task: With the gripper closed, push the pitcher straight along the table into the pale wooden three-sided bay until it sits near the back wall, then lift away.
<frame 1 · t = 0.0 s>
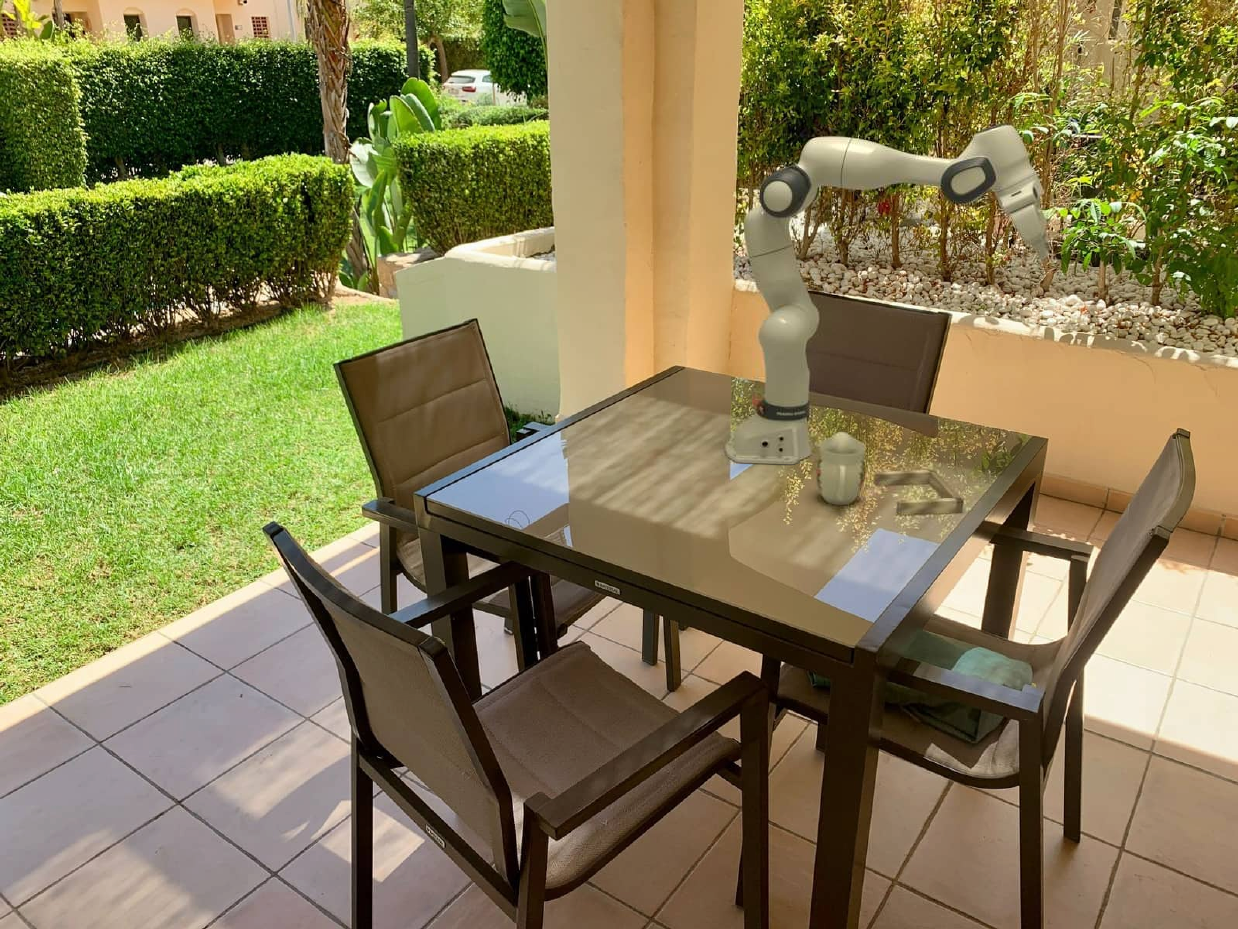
hand: (1045, 254, 201), 54 cm above the table, fingers open, 8 cm apart
pitcher: (838, 501, 215), on the table
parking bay: (915, 497, 216), on the table
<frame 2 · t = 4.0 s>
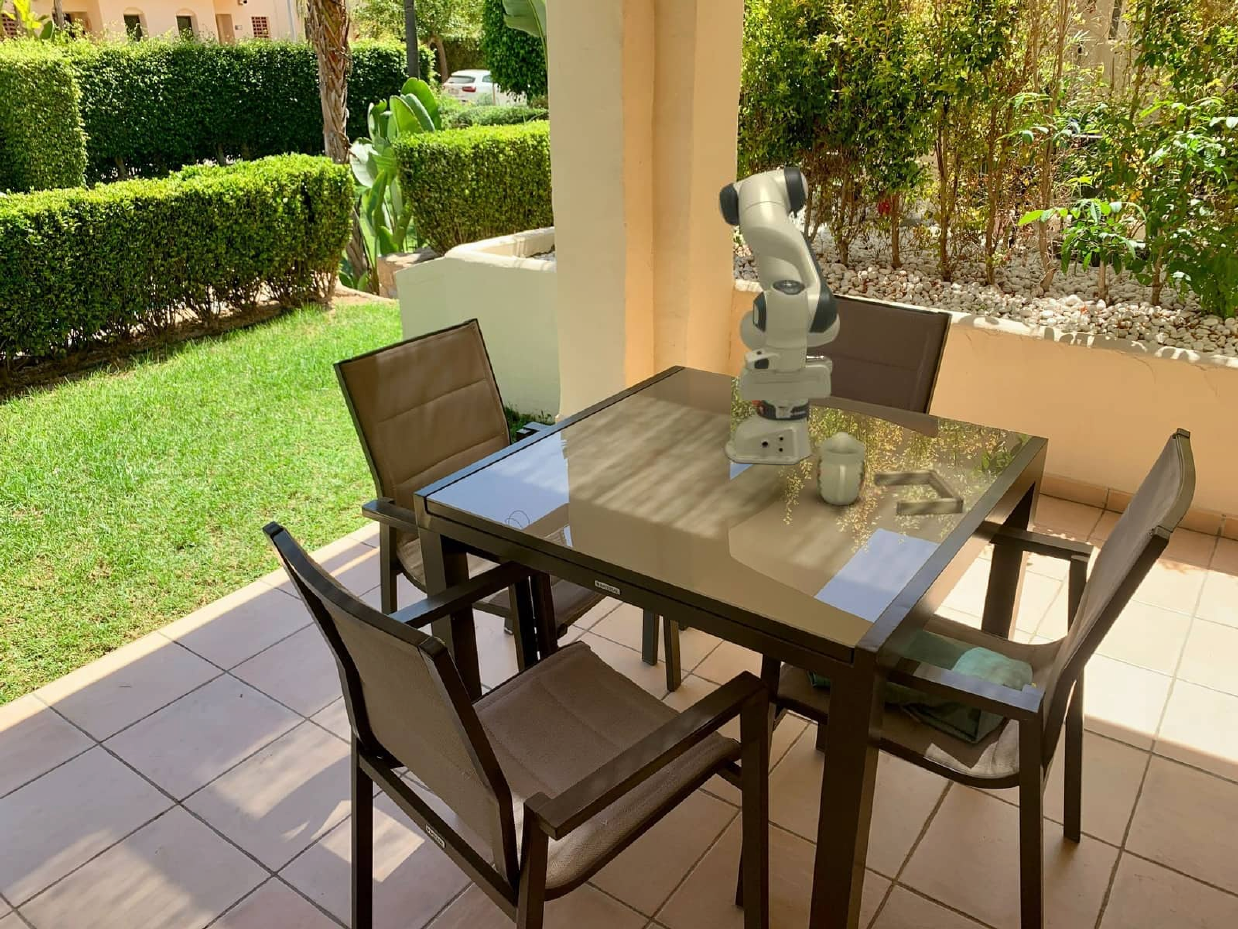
hand: (782, 417, 207), 21 cm above the table, fingers closed
nothing on the table moved.
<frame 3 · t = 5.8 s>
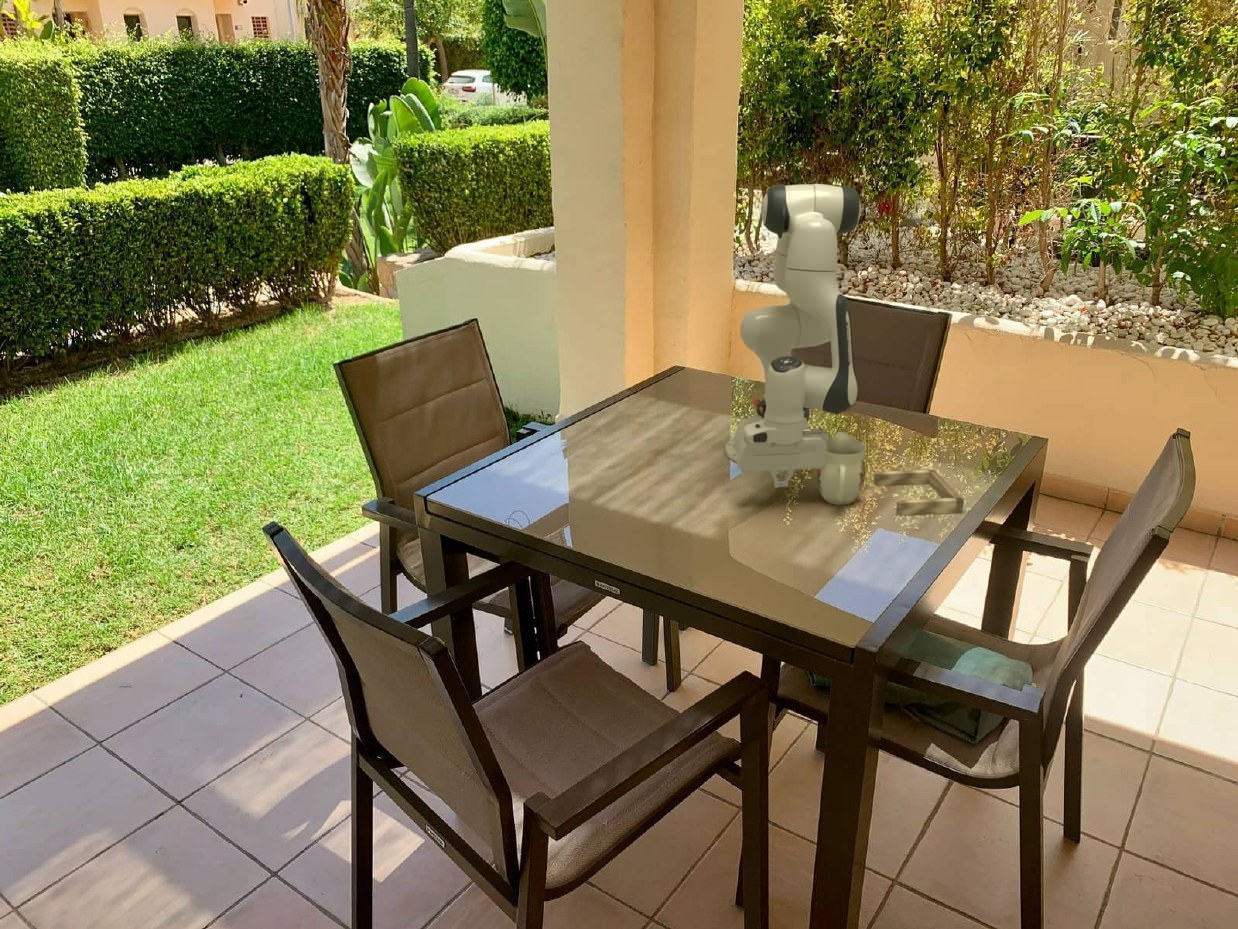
hand: (781, 486, 213), 4 cm above the table, fingers closed
nothing on the table moved.
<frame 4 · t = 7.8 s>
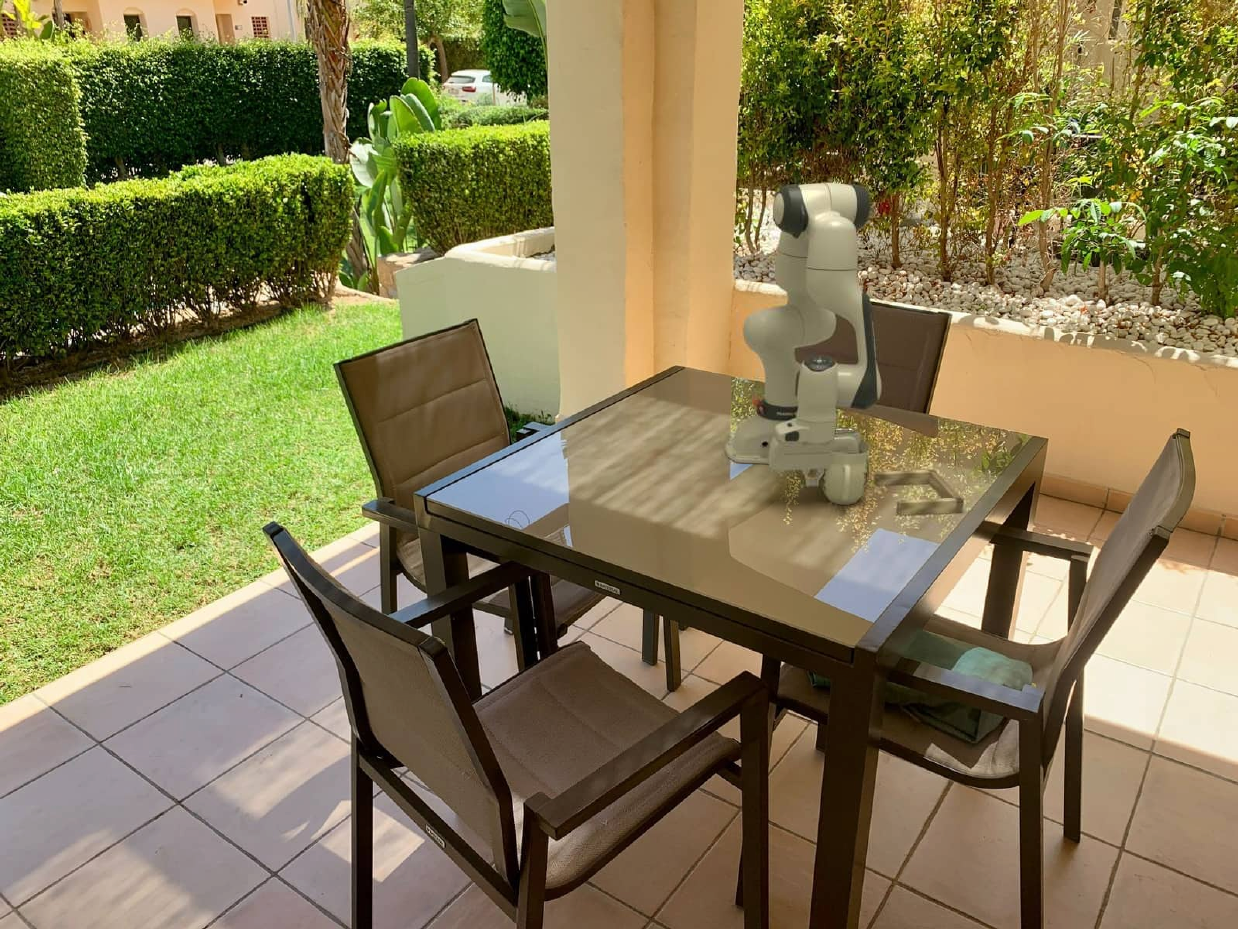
hand: (811, 485, 213), 4 cm above the table, fingers closed
pitcher: (842, 501, 215), on the table, touching gripper
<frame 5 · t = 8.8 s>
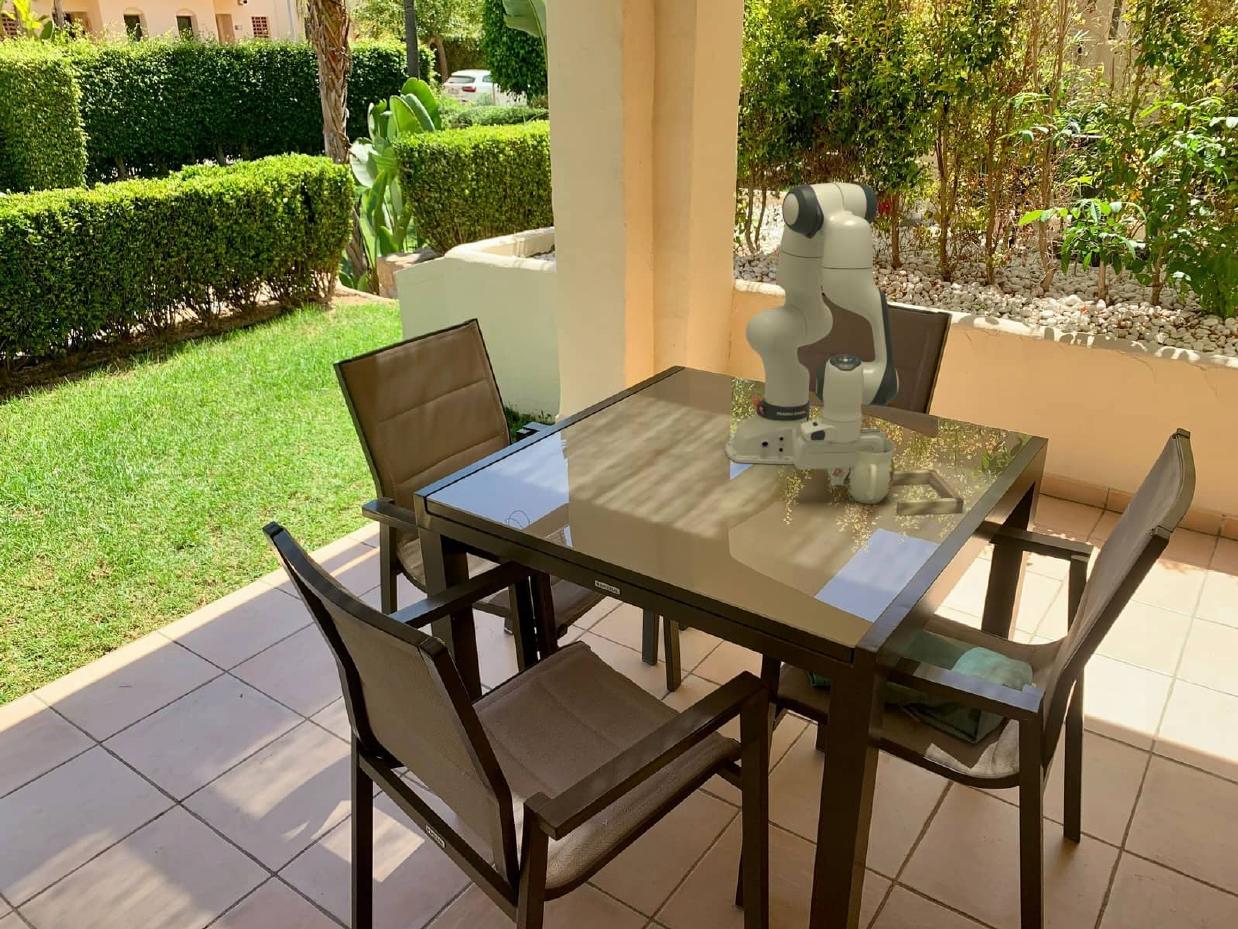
hand: (836, 484, 213), 4 cm above the table, fingers closed
pitcher: (867, 500, 215), on the table, touching gripper
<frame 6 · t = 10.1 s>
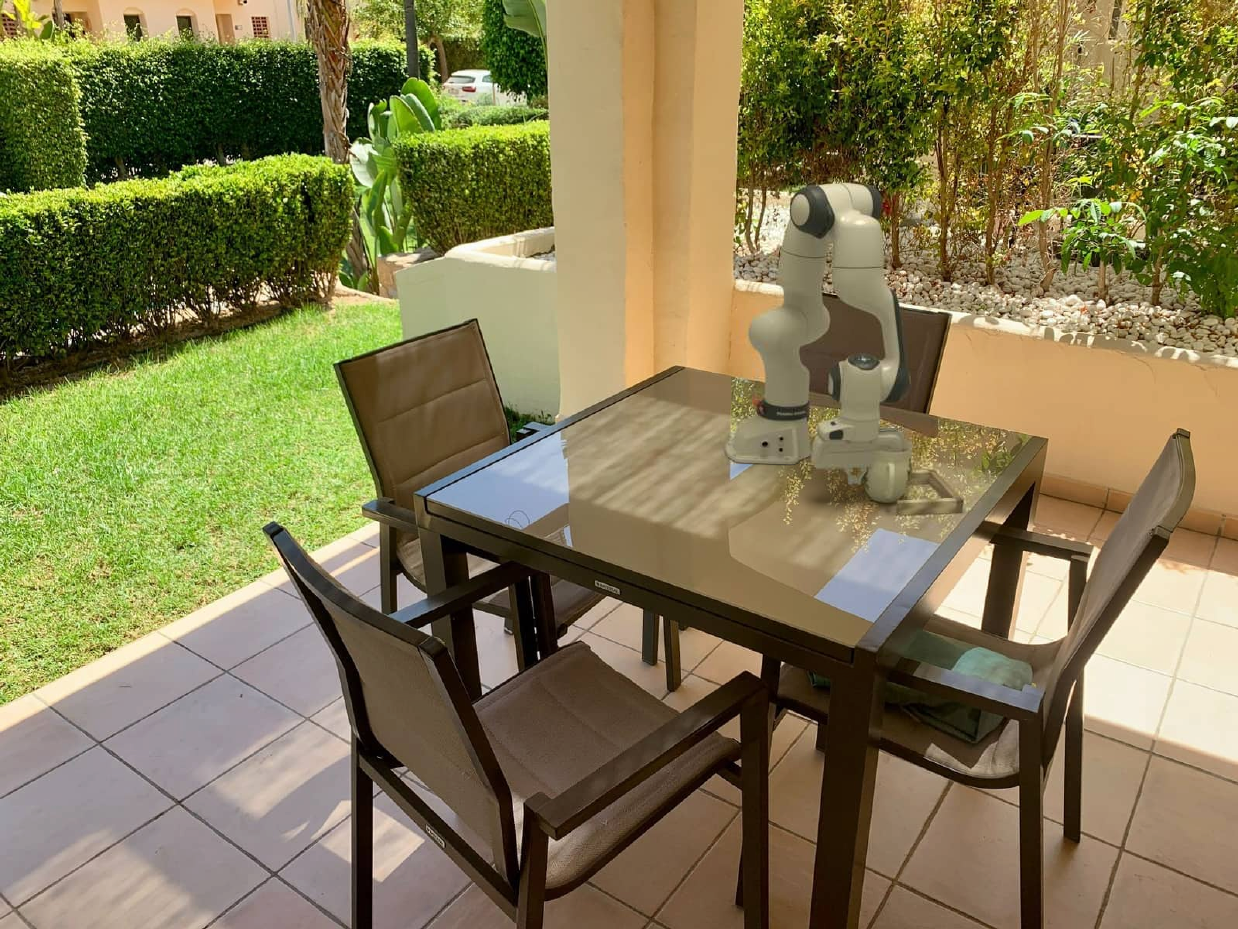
hand: (854, 484, 213), 4 cm above the table, fingers closed
pitcher: (884, 499, 215), on the table, touching gripper
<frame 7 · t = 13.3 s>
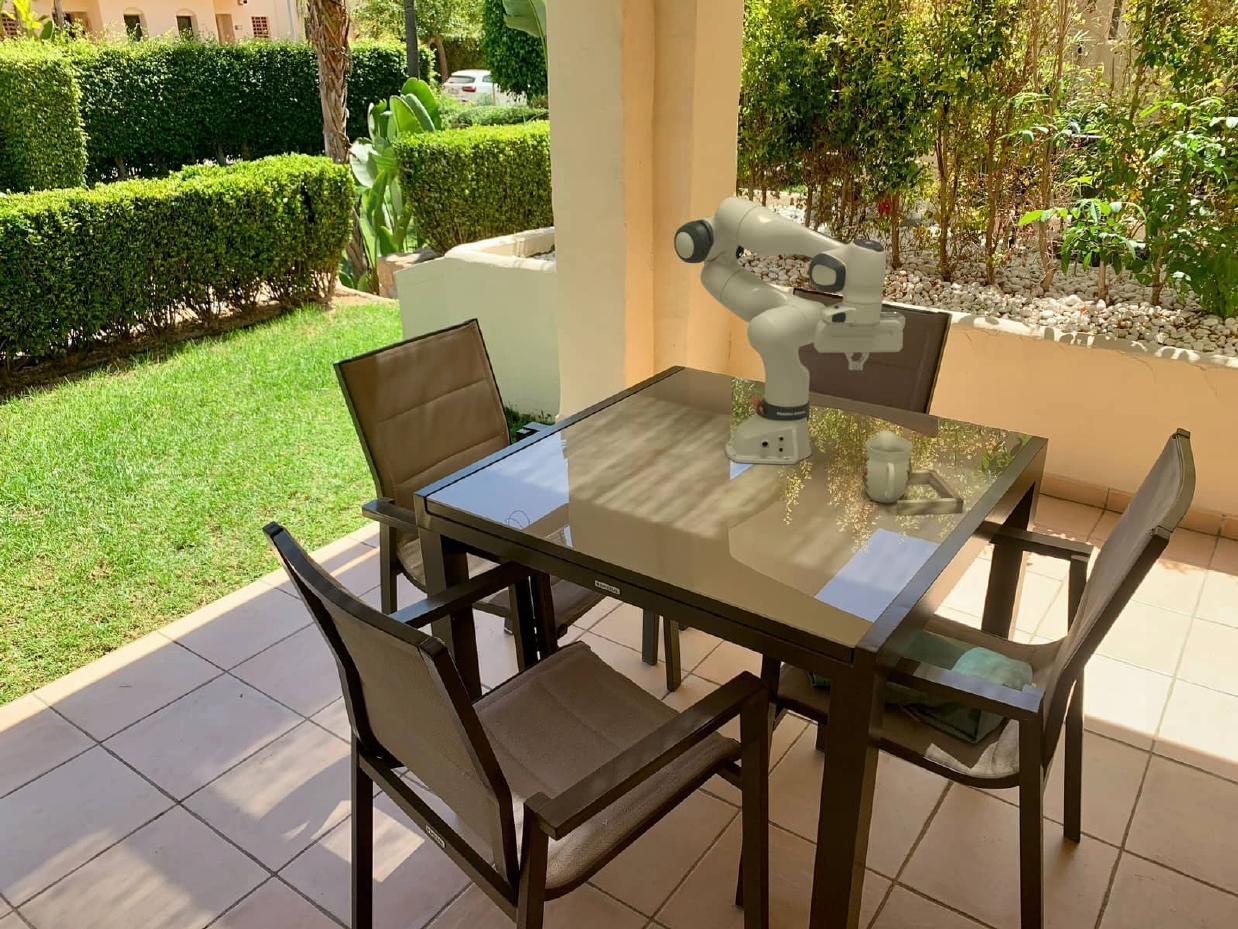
hand: (855, 369, 219), 27 cm above the table, fingers closed
pitcher: (884, 499, 215), on the table
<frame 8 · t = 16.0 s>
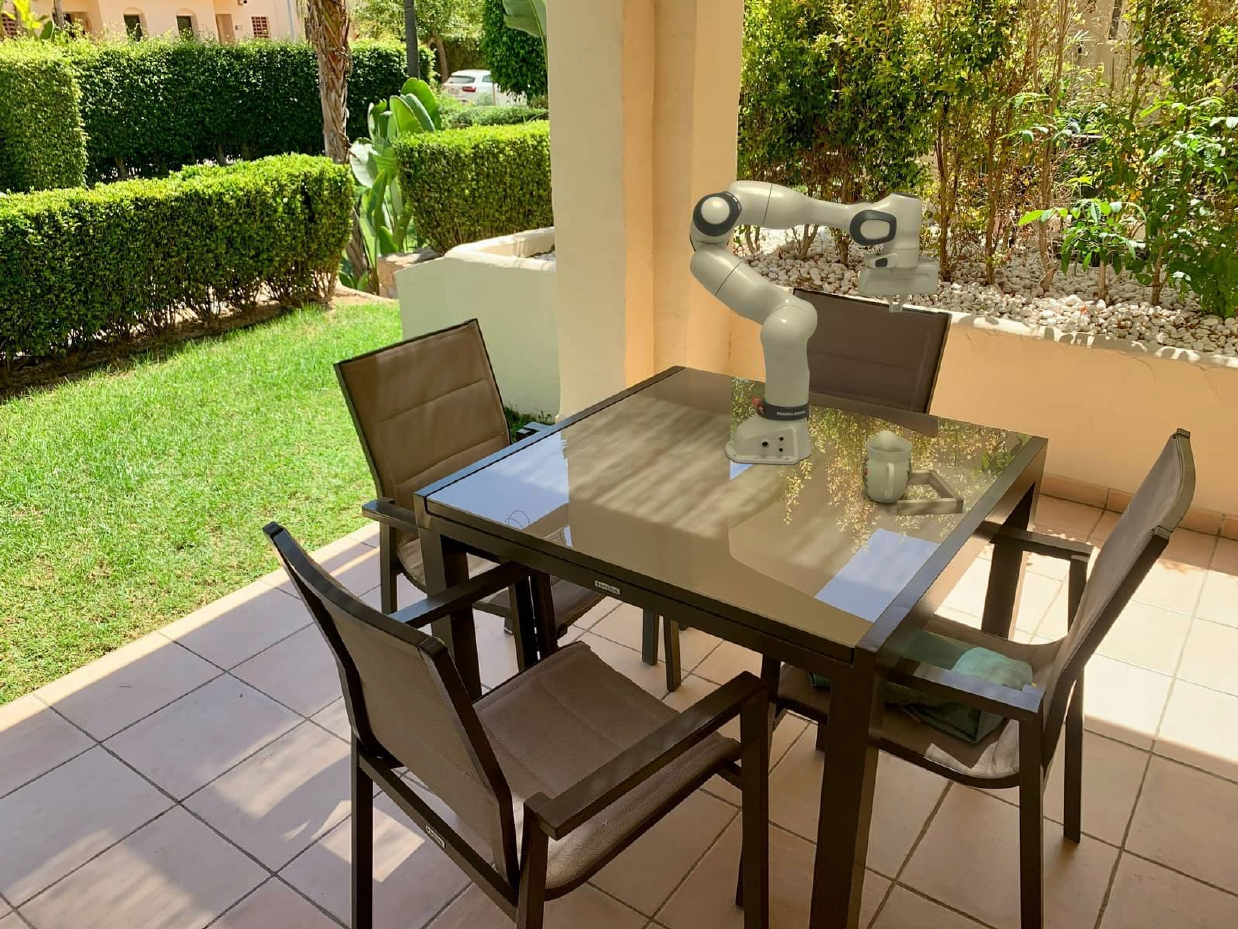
hand: (895, 311, 242), 34 cm above the table, fingers closed
nothing on the table moved.
at the end: pitcher inside the target area (4.7 cm from its centre), on the table; pitcher tilted 0° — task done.
